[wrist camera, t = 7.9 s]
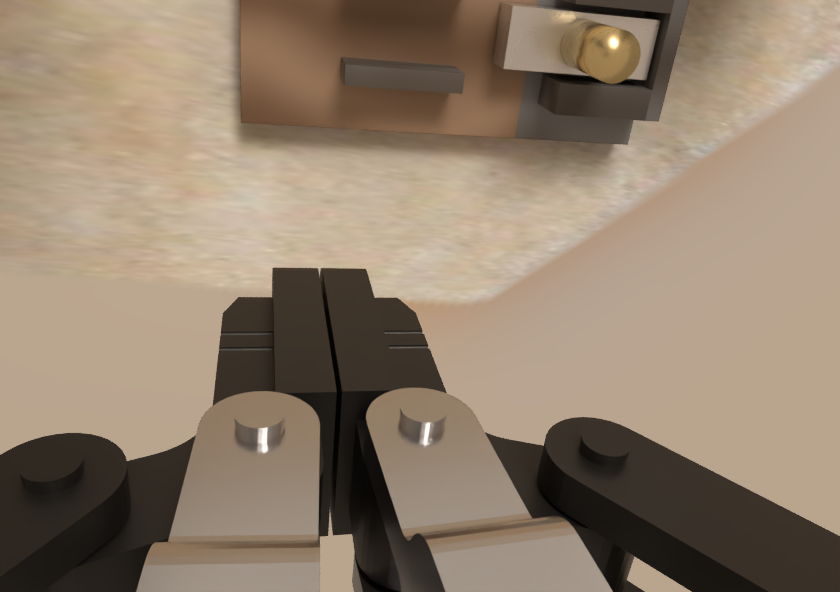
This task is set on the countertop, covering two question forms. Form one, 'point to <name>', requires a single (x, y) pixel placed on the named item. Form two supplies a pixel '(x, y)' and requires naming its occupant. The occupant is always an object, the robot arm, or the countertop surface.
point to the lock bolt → (575, 42)
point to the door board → (435, 70)
